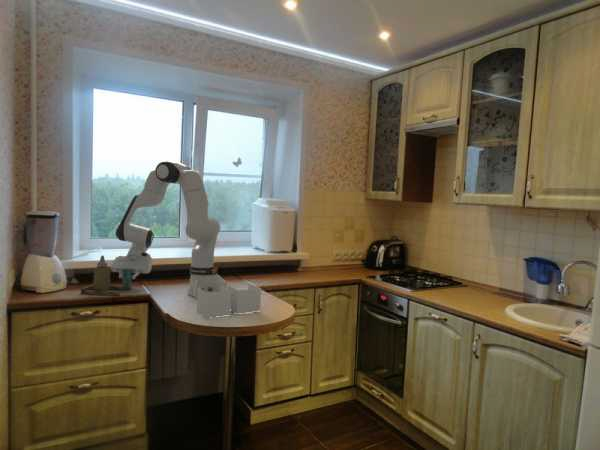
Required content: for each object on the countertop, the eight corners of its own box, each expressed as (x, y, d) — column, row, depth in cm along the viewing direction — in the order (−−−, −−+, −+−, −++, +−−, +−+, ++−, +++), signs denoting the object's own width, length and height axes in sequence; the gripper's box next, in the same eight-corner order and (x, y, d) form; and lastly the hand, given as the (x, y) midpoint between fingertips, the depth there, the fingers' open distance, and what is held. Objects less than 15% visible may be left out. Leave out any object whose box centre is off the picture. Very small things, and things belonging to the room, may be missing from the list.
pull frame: (132, 288, 207) (133, 268, 206) (118, 295, 192) (118, 274, 191) (98, 286, 208) (98, 266, 207) (80, 293, 193) (81, 272, 192)
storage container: (204, 319, 162) (205, 293, 162) (196, 312, 172) (197, 287, 171) (260, 313, 176) (261, 288, 175) (249, 306, 185) (250, 283, 184)
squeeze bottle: (114, 290, 201) (115, 255, 200) (100, 294, 194) (101, 257, 193) (103, 288, 205) (103, 254, 204) (89, 291, 197) (89, 255, 196)
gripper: (114, 252, 212) (104, 273, 203) (152, 254, 211) (143, 275, 202) (118, 259, 217) (108, 280, 208) (155, 261, 216) (147, 282, 207)
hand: (126, 278), depth 205 cm, fingers open, 5 cm apart
